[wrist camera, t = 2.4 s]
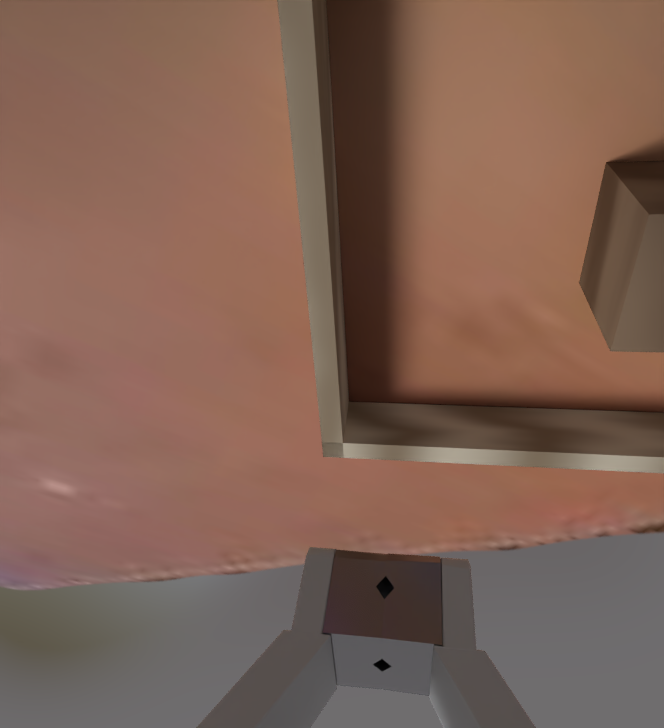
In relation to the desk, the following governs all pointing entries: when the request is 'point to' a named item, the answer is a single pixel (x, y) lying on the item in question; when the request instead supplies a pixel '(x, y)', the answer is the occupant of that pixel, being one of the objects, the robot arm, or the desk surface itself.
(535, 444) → the u-shaped low wall enclosure
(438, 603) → the robot arm
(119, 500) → the desk surface
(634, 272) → the walnut block
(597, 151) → the desk surface
